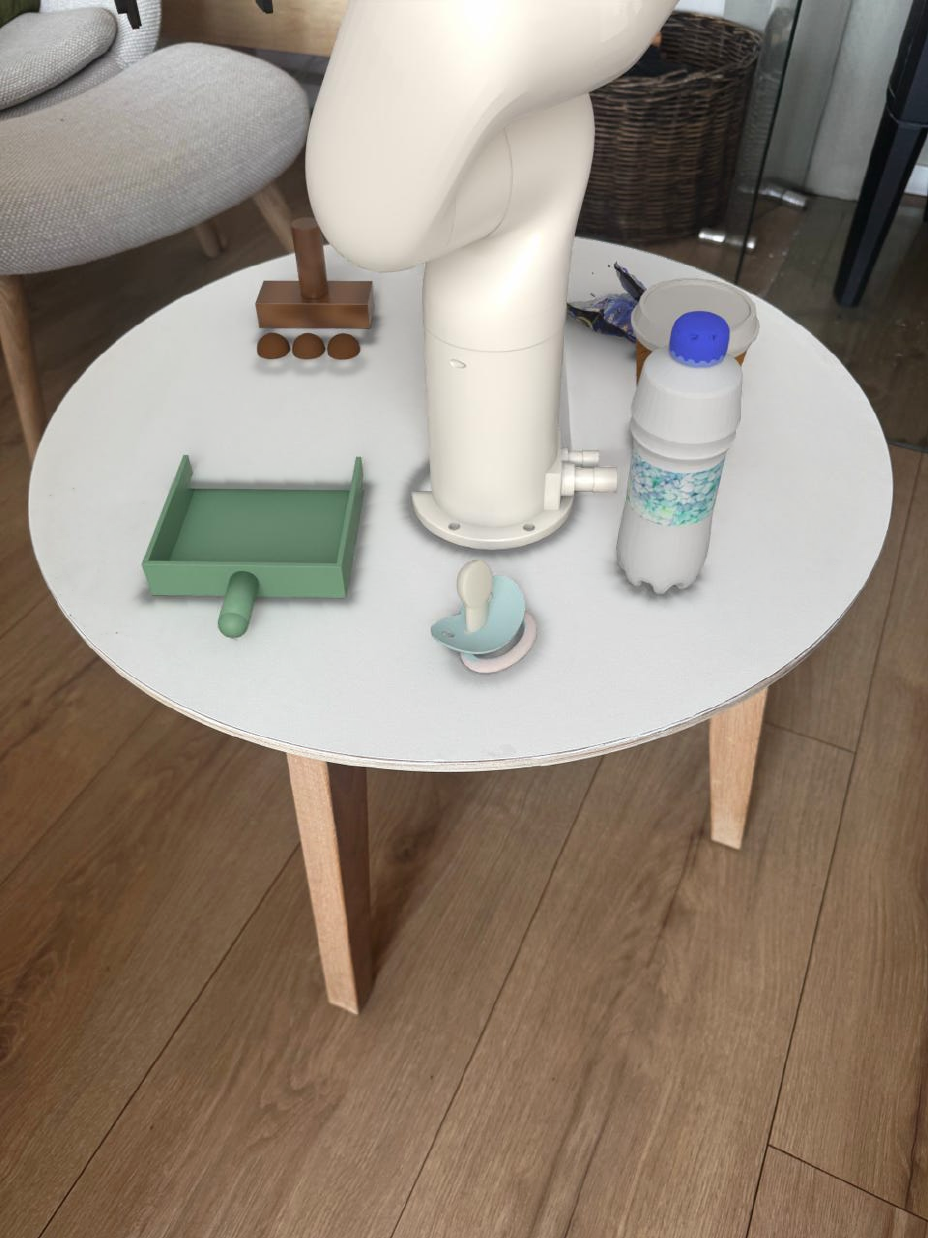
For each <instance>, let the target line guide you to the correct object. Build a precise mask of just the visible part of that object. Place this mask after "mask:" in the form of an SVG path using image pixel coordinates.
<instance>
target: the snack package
mask: <svg viewBox="0 0 928 1238" xmlns="http://www.w3.org/2000/svg"><path fill="white" fill-rule="evenodd" d="M607 267H608V268H610V267H611V265H610V264H608V265H607ZM613 268H614V270H615V274H616V277H617V278H618V280H619V282H620V286H621V287H622V288H623V290H624V291H625V292H627V293H625V292H623V293H620V294H618V293H608V294H603V295H601V296H596V295H595V294H594V293H592V292H590V293H589V294H590V295H591V296H592V297H594V298H593V299H590V300H587V301H586V300H585V301H574V302H568V301H567V309H566V315H568V316H570V318H574V320H577V321H578V322H579V323H581V324H583V325H585V327H587V328H589V329H590V330H592V331H594V332H596V333H599V334H604V335H608V336H615V337H620V338H621V337H622V338H625V339H627V340H629V341H630V342H631V343H632V344H635V345H636V336H635V333H634V330H633V327H632V324H631V314H632V312H633V310H634V308H635V306H636V305H638V303H639V300H640V298H641V296H642V294H643V293H644V292H645V291H646V290H647V289H648V288H646V287H645V286H644V284H643V282H642V281H640V280H639V279H638V278H637V277H636V276H635V275H634V274H632V273H630V272H629V271H628V269H627V268H626V267H623V266H621V265H619V264H618V260H616V261H615V263H613ZM591 274H592V275H594V272H593V271H592V272H591Z"/></svg>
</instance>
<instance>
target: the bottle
mask: <svg viewBox="0 0 928 1238" xmlns="http://www.w3.org/2000/svg"><path fill="white" fill-rule="evenodd" d="M729 339H730V329H729V326H728V324H727V322H726V321H725V320H724V319H723V318H722V317H721V316H719V315H717V314H714V313H711V312H707V311H692V312H688V313H685V314H683V315H681V316H680V317H679V318H678V319H677V320H676V321H675V323H674V325H673V327H672V330H671V335H670V342H669V345H666V346H664V347H661V348H659V349H657V350H655V351H653V352H652V353H651V354H650V355H649V356H648V357H647V358H646V360H645V362H644V364H643V368H642V371H641V375H640V378H639V382H638V385H637V388H636V389H635V393H634V395H633V398H632V401H631V403H630V404H631V405H630V413H631V418H630V421H629V428H630V432H631V435H632V438H633V439H632V447H631V454H630V463H629V469H628V477H627V484H626V493H625V499H624V504H623V505H624V506H623V509H622V514H621V517H620V522H619V527H618V533H617V537H616V538H617V540H616V548H615V552H616V561H617V563H618V566H619V567H620V568H621V569H622V570H623V571H624V572H625V576H626V578H627V581H628V582H629V583H630V584H631V585H632V586H634V587H638V588H639V587H641V586H642V585H643V584H644V583H647V584H649V585H650V586H651V587H652V589H653V593H655V594H657V595H664V594H665V593H667V592H668V590H669V589H670V588H672V586H675V587H676V588H677V589H679V590H684V589H686V588H689V587H690V586H691V585H692V584H693V583H694V582H695V581H696V578H697V577H698V575H699V574H700V572H701V570H702V568H703V567H704V565H705V562H706V559H707V557H708V553H709V546H710V541H711V533H712V525H713V516H714V511H715V506H716V502H717V497H718V492H719V488H720V484H721V479H722V475H723V469H724V466H725V461H726V456H727V452H728V450H729V448H730V447H732V445H733V444H734V442H735V440H736V437H737V429H738V428H739V425H740V423H741V418H742V411H741V410H742V393H743V379H744V374H743V370H742V367H741V366H740V364H739V363H738V361H737V360H735V359H734V358H733V357H732V356H731V355H730V354H728V353H727V349H728V344H729Z"/></svg>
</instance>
